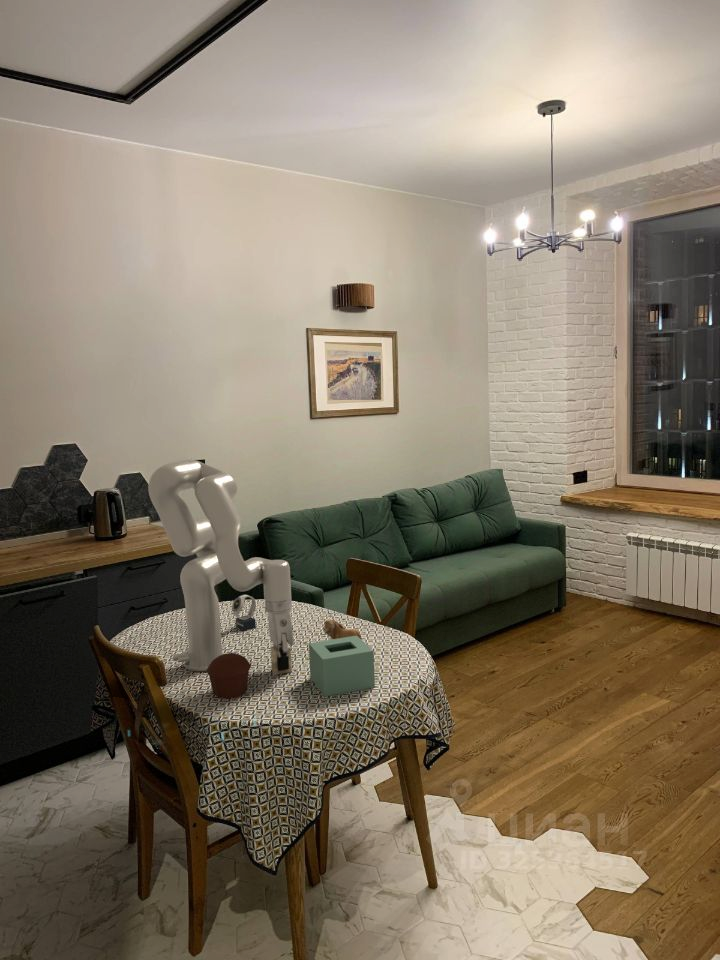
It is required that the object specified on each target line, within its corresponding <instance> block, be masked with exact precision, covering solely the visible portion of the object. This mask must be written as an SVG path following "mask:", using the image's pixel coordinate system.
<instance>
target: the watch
mask: <svg viewBox="0 0 720 960" xmlns="http://www.w3.org/2000/svg"><path fill="white" fill-rule="evenodd" d="M246 598H249V599H250V600H251V604H250V607H249V610H248V613H247V614H246V615H242V616H241V617H240V616H239V615H240V612H241V611H242V610H243V608H244V605H245V600H246ZM231 606H232V607H231V610H232V613H233V614H234V616H235V627H236V628H237V629H238V630H242V631H243V632H246V631H249V630H253V629H256V627H257V626H256V618H254V617H253V616H254V614H255V612H256V609H257V603H256V599H255V598H254V597H253V596H250V595H248V594H242V595H239V596H238V597H236V598H235V599H234V600H233V602H232V605H231Z"/></svg>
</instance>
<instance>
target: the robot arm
mask: <svg viewBox="0 0 720 960" xmlns="http://www.w3.org/2000/svg"><path fill="white" fill-rule="evenodd" d="M148 482H149V483H148V489H147V490H148V495H149V498H150V501H151V503H152V506H153V507H154V509H155V511H156V512H157V515H158V516H159V519H160V522H161V525H162V527H163V530H164V532H165V534H166V536H167V539H168V540H169V543H170V545H171V547H172V550H173V552H174V553H175V554H176V555H178V556H179V557H185V558H186V557H189V556H193V555H196V556H197V557H196V558H194V559H191V560H189V561H188V562H187V563H185V565H183V568H182V569H181V572H180V576H179V577H180V578H179V580H180V585H181V589H182V593H183V596H184V597H183V598H184V606H185V607H184V608H185V616H186V629H187V642H188V643H187V644H188V645H187V646H188V647H187V648H186V651H183V653H173V654H172V662H176V661H178V662H177V663H183V665H184V668H185V669H186V670H188V669H189V670H188V671H192V672H207V671H206V670H207V668H208V666H209V665H210V664H211V662H212V661H213V660H214V659H215V658H217V657H218V656H220V655H223V654H224V653H223V646H222V644H223V643H222V632H221V614H220V603H219V597H218V595H217V594H216V590H215V586H216V585H218V584H220V583H222V582H223V581H225V580H226V581H227V582H228V584H229V585H230V586H231V587H232V588H233V589H234V590H236V591H238V592H241V593H242V592H243V593H244V592H247V591H250V590H251V589H253V588H255V587H256V586H258V585H261V584H263V597H264V612H265V613H267V614H268V615H267V616H268V633H269V638H270V641H271V642H272V646H276V647H277V651H278V657H277V667H278V671H282V670H288V669H289V658H288V645H289V646H290V647H292V646H294V634H293V624H292V617H291V616H292V615H291V613H290V611H291V610H292V608H293V603H292V601H293V600H292V588H291V587H292V585H291V583H292V582H291V567H290V564H289V562H288V561H287V560H284V559H267V558H263V557H260V556H259V557H257V556H255V557H251V558H249V559H247V560H244V557H243V555H242V554H241V551H240V547H239V537H240V533H241V530H242V527H243V519H242V518H241V516H240V514H239V512H238V509H237V508H236V506H235V503H234V502H233V500H232V499H234V497H235V496H236V495H237V492H238V485H237V482H236V480H235V479H234V477H232V476H231V475H230V474H229V473H227V472H226V471H222V470H221V469H219V468H215V467H214V466H211V465H209V464H207V463H203V462H201V461H199V460H196V459H185V460H180V461H179V460H178V461H174V462H170V463H166V464H163V465H161V466H160V467H158V468H157V469H156V470H155V471H154V472H153V473H152V475H151V476H150V479H149V481H148ZM189 489H194V490H193V491H194V495H195V498H196V500H197V502H198V503H199V506H200V508H201V510H202V511H203V513H204V515H205V517H206V519H205V518H201V517H200V518H195V519H194V518H193V516H192V514H191V511H190V509H189V506H188V505H187V503H186V502H185V500H184V499H183V498H182V497H181V496H180V495H179V493H180V492H183V491H186V490H189ZM287 644H288V645H287ZM280 645H281V646H280ZM281 648H282V650H281V651H280V649H281Z"/></svg>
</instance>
